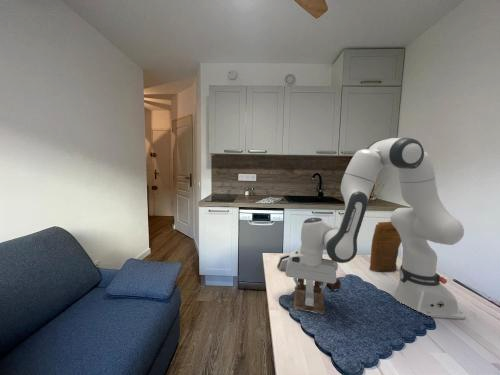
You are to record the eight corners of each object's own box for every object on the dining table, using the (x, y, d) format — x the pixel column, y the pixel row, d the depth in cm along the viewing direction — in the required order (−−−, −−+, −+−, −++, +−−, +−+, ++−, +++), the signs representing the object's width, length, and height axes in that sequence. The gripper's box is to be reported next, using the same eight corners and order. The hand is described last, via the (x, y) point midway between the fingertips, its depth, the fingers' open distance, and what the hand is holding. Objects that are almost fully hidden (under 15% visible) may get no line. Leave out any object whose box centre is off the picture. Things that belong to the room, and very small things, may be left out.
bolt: (312, 279, 112) (337, 293, 99) (306, 276, 110) (331, 290, 97) (317, 268, 113) (342, 280, 100) (311, 265, 111) (336, 278, 98)
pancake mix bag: (405, 272, 117) (410, 221, 114) (372, 274, 115) (376, 222, 112) (395, 266, 124) (400, 218, 121) (364, 267, 121) (368, 218, 118)
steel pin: (312, 284, 98) (313, 277, 98) (313, 306, 83) (313, 299, 82) (305, 283, 99) (306, 276, 99) (305, 304, 84) (305, 297, 83)
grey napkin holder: (304, 264, 124) (307, 250, 120) (307, 270, 120) (311, 257, 116) (276, 266, 121) (278, 252, 117) (278, 272, 117) (281, 258, 113)
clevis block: (322, 292, 97) (323, 277, 96) (325, 315, 82) (326, 297, 82) (295, 288, 100) (295, 273, 99) (292, 309, 86) (293, 292, 85)
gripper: (337, 257, 89) (335, 289, 91) (287, 251, 95) (285, 281, 96) (339, 264, 83) (337, 297, 85) (285, 257, 89) (284, 289, 90)
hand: (309, 289), depth 91 cm, fingers open, 8 cm apart
